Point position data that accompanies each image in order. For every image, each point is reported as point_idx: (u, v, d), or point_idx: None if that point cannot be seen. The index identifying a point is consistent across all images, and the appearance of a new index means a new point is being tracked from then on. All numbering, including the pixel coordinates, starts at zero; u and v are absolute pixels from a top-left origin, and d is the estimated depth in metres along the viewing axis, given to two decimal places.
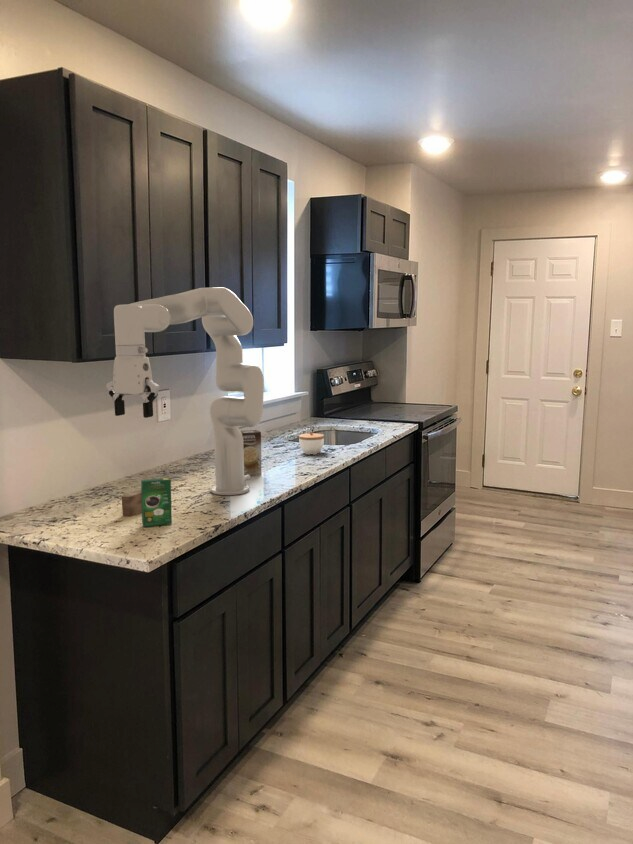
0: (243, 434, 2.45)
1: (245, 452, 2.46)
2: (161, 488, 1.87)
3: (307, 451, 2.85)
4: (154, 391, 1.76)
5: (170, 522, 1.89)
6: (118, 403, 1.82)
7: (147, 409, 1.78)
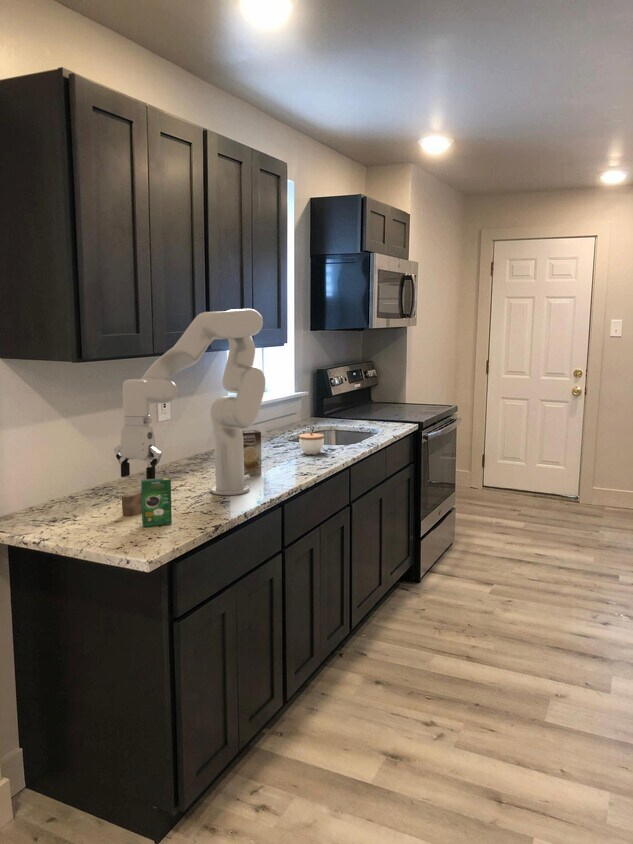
0: (243, 434, 2.45)
1: (245, 452, 2.46)
2: (161, 488, 1.87)
3: (307, 451, 2.85)
4: (157, 457, 1.98)
5: (170, 522, 1.89)
6: (124, 466, 2.03)
7: (150, 473, 1.99)
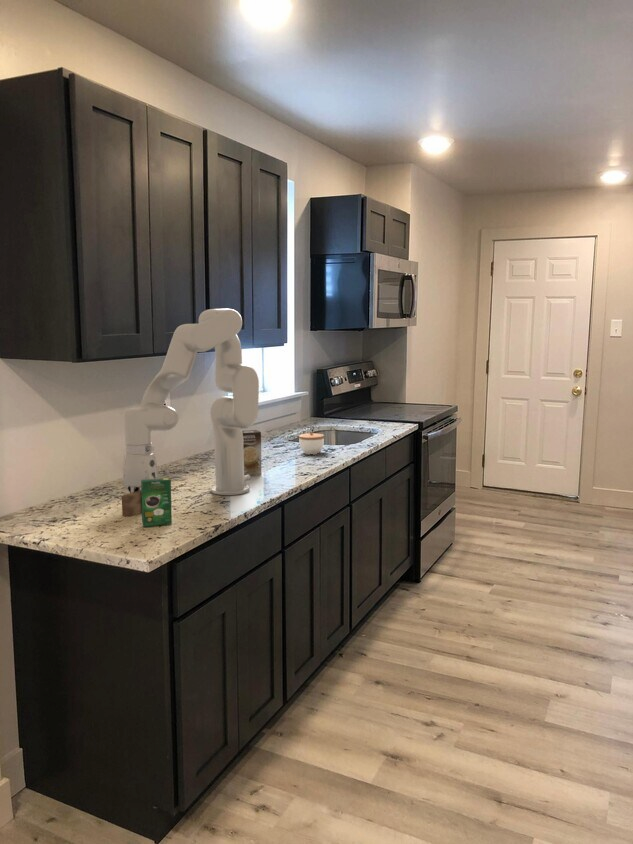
0: (243, 434, 2.45)
1: (245, 452, 2.46)
2: (161, 488, 1.87)
3: (307, 451, 2.85)
4: None
5: (170, 522, 1.89)
6: None
7: None
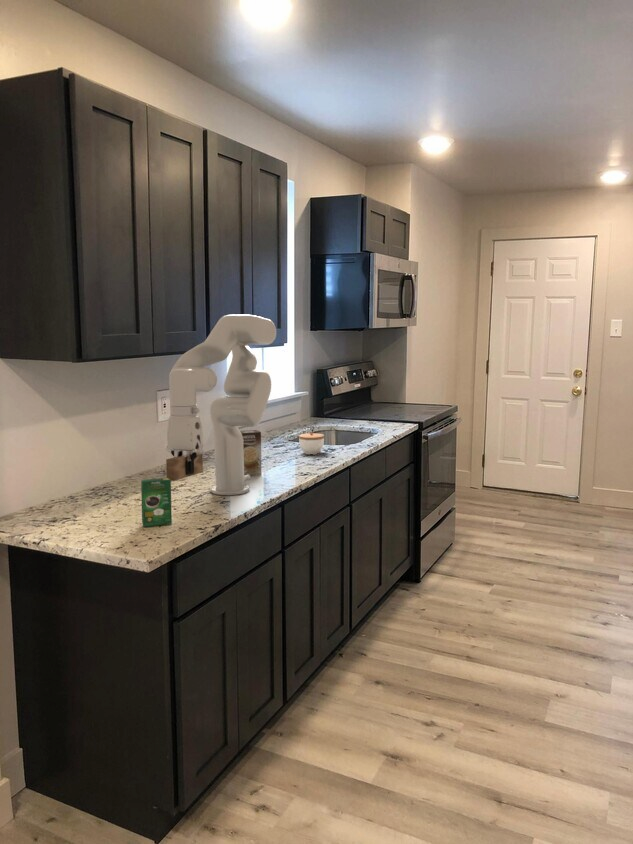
0: (243, 434, 2.45)
1: (245, 452, 2.46)
2: (161, 488, 1.87)
3: (307, 451, 2.85)
4: (197, 453, 1.96)
5: (170, 522, 1.89)
6: None
7: (189, 467, 1.98)
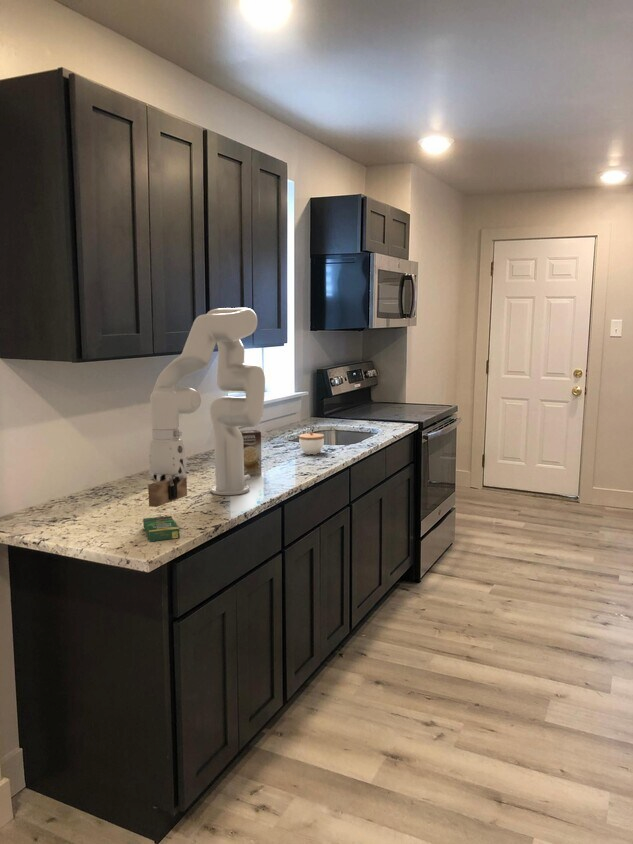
0: (243, 434, 2.45)
1: (245, 452, 2.46)
2: None
3: (307, 451, 2.85)
4: (180, 478, 1.90)
5: None
6: None
7: (172, 492, 1.91)
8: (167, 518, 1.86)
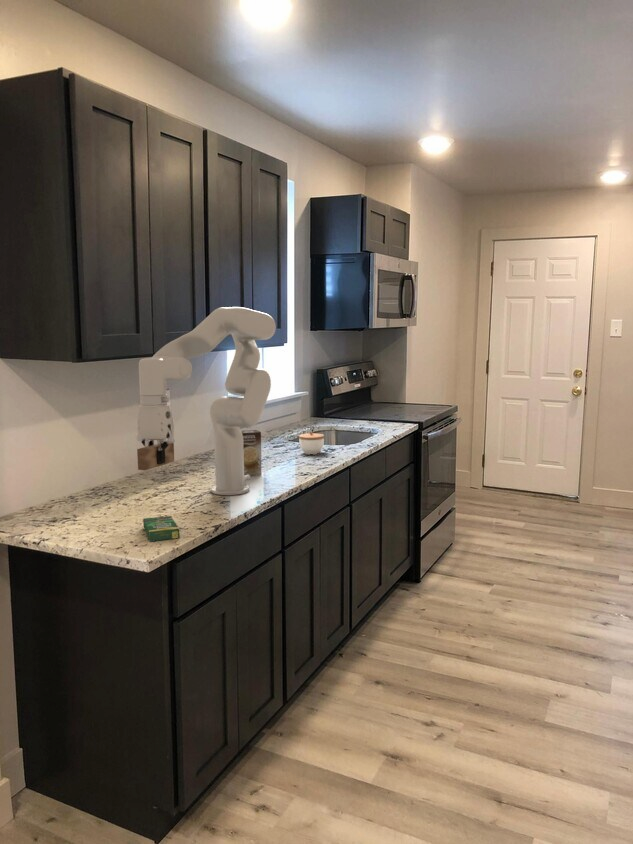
0: (243, 434, 2.45)
1: (245, 452, 2.46)
2: None
3: (307, 451, 2.85)
4: (168, 443, 1.96)
5: None
6: None
7: (160, 456, 1.97)
8: (167, 518, 1.86)
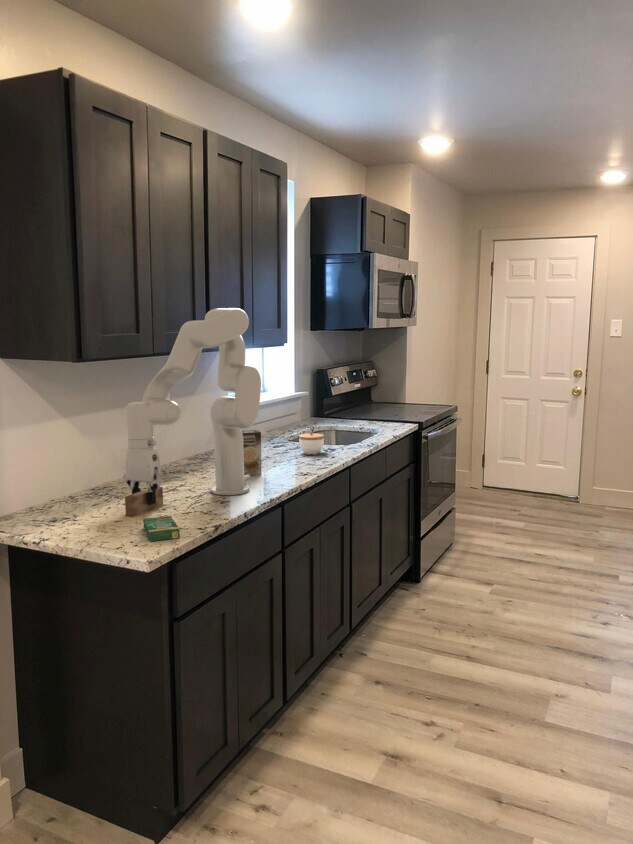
0: (243, 434, 2.45)
1: (245, 452, 2.46)
2: None
3: (307, 451, 2.85)
4: (158, 484, 1.99)
5: None
6: (135, 492, 2.03)
7: (150, 498, 2.01)
8: (167, 518, 1.86)
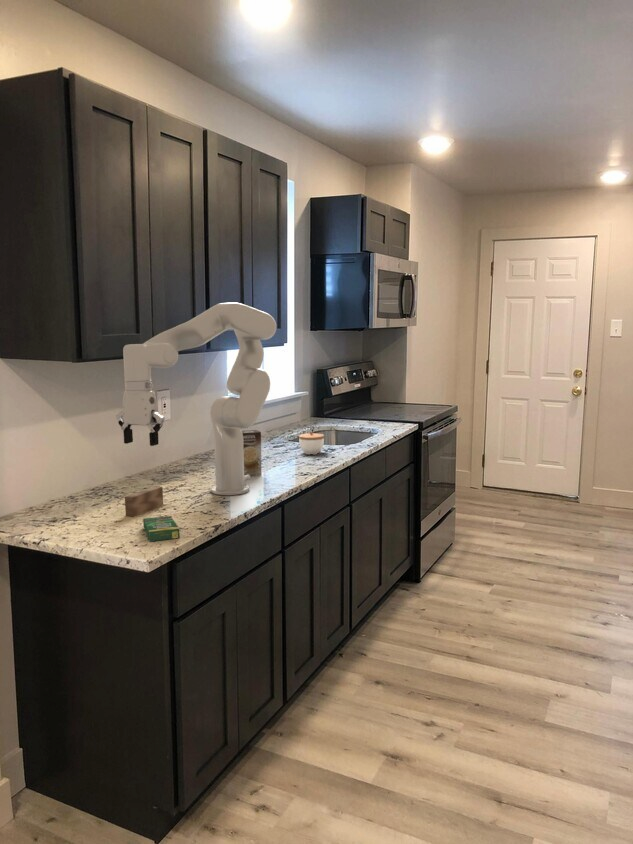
0: (243, 434, 2.45)
1: (245, 452, 2.46)
2: None
3: (307, 451, 2.85)
4: (159, 422, 1.96)
5: None
6: (127, 432, 2.02)
7: (153, 438, 1.97)
8: (167, 518, 1.86)
